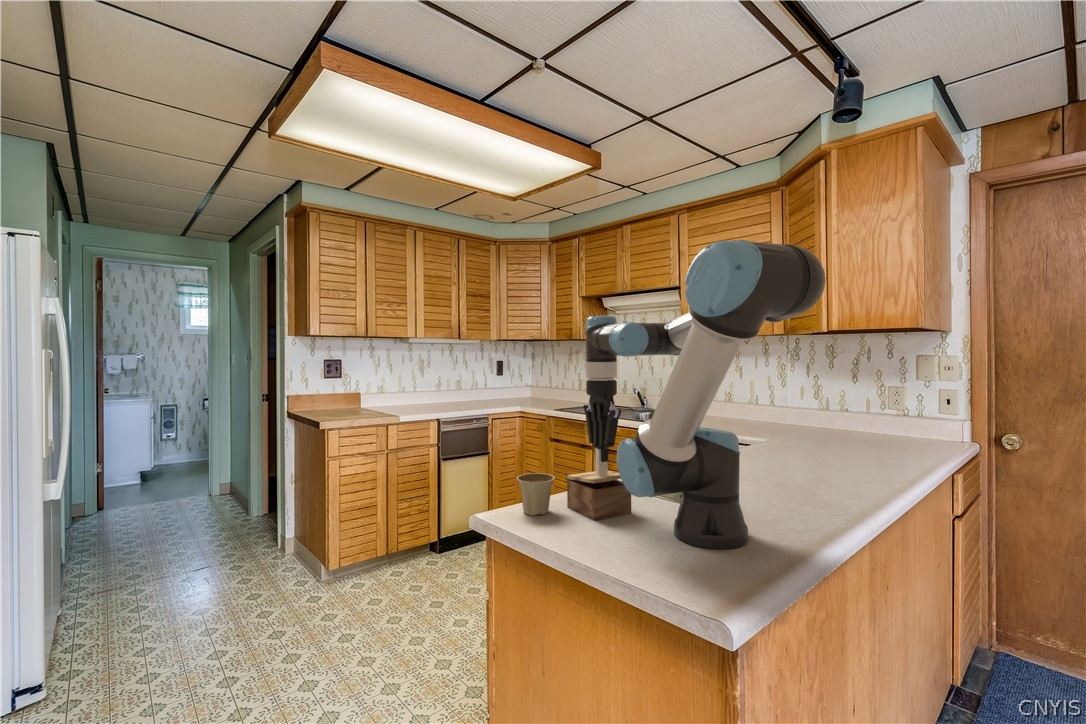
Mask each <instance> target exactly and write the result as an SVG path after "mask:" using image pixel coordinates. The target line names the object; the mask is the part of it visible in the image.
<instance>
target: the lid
mask: <svg viewBox="0 0 1086 724" xmlns="http://www.w3.org/2000/svg"><path fill="white" fill-rule="evenodd" d="M571 479H572V480H577V481H583V482H588V483H599V482H605V481H611V480H621V477H620V474H619V471H618V472H617V471H609V470H608V474H604V475H597V474H595V471H587V472H581V473H575V474H568V475H566V477H565V480H566V481H567V480H571Z"/></svg>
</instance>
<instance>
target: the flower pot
mask: <svg viewBox="0 0 1086 724" xmlns="http://www.w3.org/2000/svg"><path fill="white" fill-rule="evenodd" d="M516 481H518V482H517V483H518V487H520V495H521V501H522V503H521V504H522V510H523V512H524V514H526V515H529V516H538V515H546V514H547V513H549V510H550V508H549V507H550V500H551V493H552V487H553V484H554V481H555V476H554V475H552V474H550V473H549V474H548V473H542V472H533V473H531V472H530V473H524V474H521V475H518V476H516Z"/></svg>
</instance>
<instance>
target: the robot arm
mask: <svg viewBox="0 0 1086 724" xmlns="http://www.w3.org/2000/svg"><path fill="white" fill-rule="evenodd" d="M684 285H685V286H687V288H686V289H684V296H685V300H686V302H687V305H688V306H689V308H688V312H686V313H684V314H682V315H680V316H678V317H676V318H674V319H671V320H670V321H667V322H649V323H648V322H635V321H622V322H619V323H618V322H617V321H618V320H617V318H616V317H615V316H613V315H596V316H595V315H593V316H589V317H587V319H586V322H585V323H586V324H585V325H586V326H585V351H586V352H585V353H586V354H585V358H586V359H585V360H586V361H585V377H586V378H587V379H586V381H585V384H586V385H585V392H586V394H587V395H588V396H589V399H588V404H584V405H583V411H584V414H585V421H586V428H587V435H588V442H589V444H592V446H593V447H594V459H595V460H594V461H595V474H597V475H604V474H608V471H609V470H608V463H609V449H610V448H612V447H615V444H616V438H617V431H618V426H619V425H618V424H619V419H620V417H621V414H622V410H621V409H620V408H616V406H615V405H616V404H615V403H616V402H615V401H614V400H615V399H614V396H616V395H617V394H618V393H617V392H618V386H617V385H618V381H617V380H616V378H617V376H618V375H617V373H618V372H617V362H618V357H619V356H620V357H636V356H677V359H676V360H675V363H674V366H673V368H672V370H671V373H670V375H669V378H668V380H667V383H666V385H665V388H664V390H663V392H662V394H661V396H660V399H659V400H658V403H657V406H656V408H655V409H654V413H653V415H652V417H651V418H650V419H647V420H645V421H643V422H642V423H641V424H640V426H639V428H638V430H637V432H636V434H635V437H633V438H626V439H622V440H621V441H620V442H619V444H618V447H617V451H616V464H617V469H618V473H619V474H620V477H621V479H620V481H622V482H623V484H624V486H625V487H626V489H627V490H628V491H629V492H630V493H631V496H634V497H637V498H646V497H647V498H653V497H657V496H663V495H664V496H665V495H671V494H672V495H673V494H677V493H681V500H680V504H679V507H678V511H677V515H676V518H675V520H674V522H673V534H674V536H675V537H676V538H677V539H678V540H679V541H682V542H683V543H685V544H688V545H691V546H695V547H699V548H705V549H716V550H727V549H736V548H739V547H742V546H745V545H747V543H749V527H748V525H747V523H746V522H745V517H744V514H743V511H742V507H741V503H740V455H741V452H740V446H739V445H740V444H739V441H740V440H739V437H738V436H737V434H736V433H734V432H732V431H728V430H724V429H723V430H722V429H718V428H710V427H704V426H703V427H702V426H701V424H702V423H703V421H704V419H705V416H706V415H707V412H708V410H709V409H710V406H711V405H712V403H713V401H714V399H715V397H716V395H717V393H718V391H719V389H720V387H721V385H722V383H723V381H724V379H725V377H726V376H727V373H728V372H729V369H730V367H731V365H732V363H733V361H734V360H735V357H736V355H737V354H738V351H739V349H740V347H741V346H742V343H743V342H745V341H749V340H752V339H755V338H756V336H758V334H759V331H760V329H762V326H763V324H764V322H767V323H773V324H775V323H779V322H782V321H785V320H787V319H791V318H794V317H797V316H800V315H802V314H805V313H807V311H810V310H811V309H812V308H813V307H814V306H815V305H816V304H817V303H818V302H819V301H820V299H821V298H822V296H823V293H824V292H825V287H826V272H825V269H824V267H823V264H822V262H821V261H820V259H819V258H818V257H817V256H816V255H815V254H814V253H812V251H810V250H808V249H806V248H804V247H802V246H800V245H799V246H798V245H795V244H782V243H771V242H770V243H769V242H758V241H748V240H747V239H733V240H719V241H715V242H713V243H711V244H709V245H706V246H705V247H704V248H703V249H701V250H700V251H699V252H698V253H697V255H696V256H695V257H694V258H693V260H692V261H691V264H690V266H689V267H688V270H687V273H686V275H685V281H684Z"/></svg>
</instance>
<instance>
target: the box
mask: <svg viewBox="0 0 1086 724" xmlns="http://www.w3.org/2000/svg"><path fill="white" fill-rule="evenodd" d="M566 484H567V485H566V495H567V497H566V498H567V500H566V502H567V505H566V506H567V508H568V509H569V510H571V511H574V512H576V513H578V514H580V515H582V516H583V517H586V518H588V519H590V520H592V521H594V522H595V521H600V520H605V519H609V518H615V517H618V516H622V515H623V516H624V515H628V514H632V494H631V493H630V492H629V491H628V490H627V489H626V487H625V486H624V484H623V482H622V480H620V479H617V480H611V481H605V482H599V483H588V482H583V481H577V480H572V479H570V480H566Z"/></svg>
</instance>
